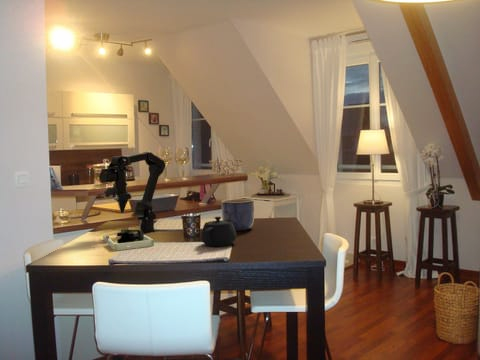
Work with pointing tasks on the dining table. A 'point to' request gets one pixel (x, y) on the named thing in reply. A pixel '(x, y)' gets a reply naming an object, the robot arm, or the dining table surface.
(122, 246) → the tray
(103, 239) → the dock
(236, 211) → the planter
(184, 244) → the dining table surface
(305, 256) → the dining table surface
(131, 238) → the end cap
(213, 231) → the teapot
